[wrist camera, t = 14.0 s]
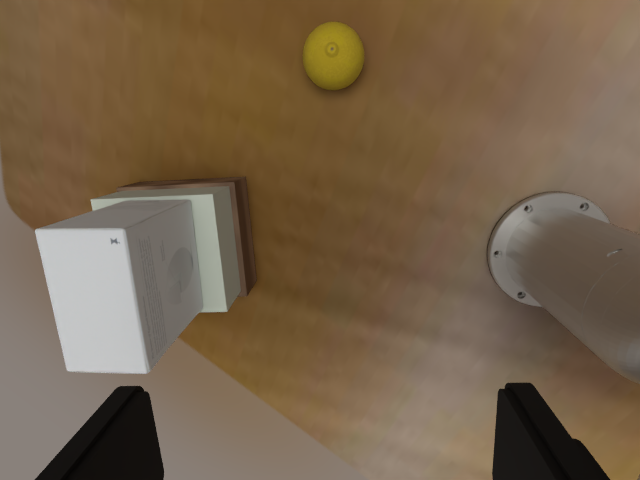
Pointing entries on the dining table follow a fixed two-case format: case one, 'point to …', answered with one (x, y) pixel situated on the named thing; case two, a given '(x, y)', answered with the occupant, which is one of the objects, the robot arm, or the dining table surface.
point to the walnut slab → (238, 213)
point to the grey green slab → (201, 238)
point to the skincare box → (122, 283)
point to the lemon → (333, 56)
